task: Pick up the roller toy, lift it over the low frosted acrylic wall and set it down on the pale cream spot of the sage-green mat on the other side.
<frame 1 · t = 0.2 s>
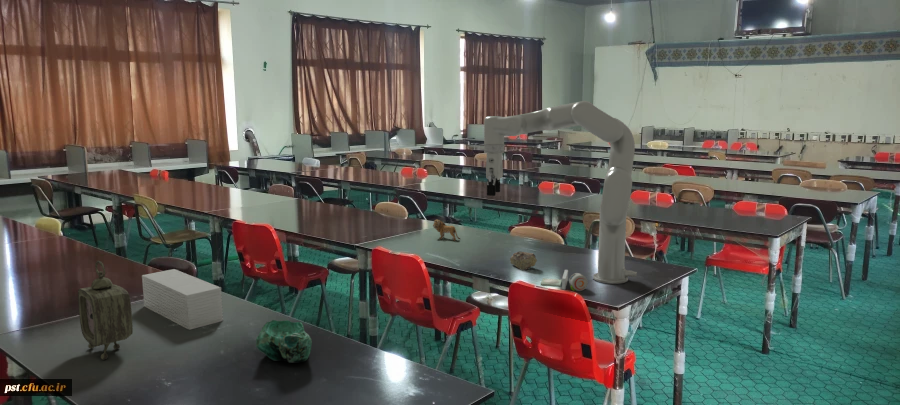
hand: (493, 193, 247), 31 cm above the table, tool pointing down, fingers open, 9 cm apart
stack of papers: (182, 314, 204), on the table
lion figurine: (445, 239, 312), on the table
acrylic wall: (564, 284, 234), on the table
rock: (523, 268, 258), on the table
roller toy: (578, 290, 228), on the table
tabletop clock: (109, 352, 173), on the table
mineral: (287, 359, 168), on the table
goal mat: (551, 283, 237), on the table
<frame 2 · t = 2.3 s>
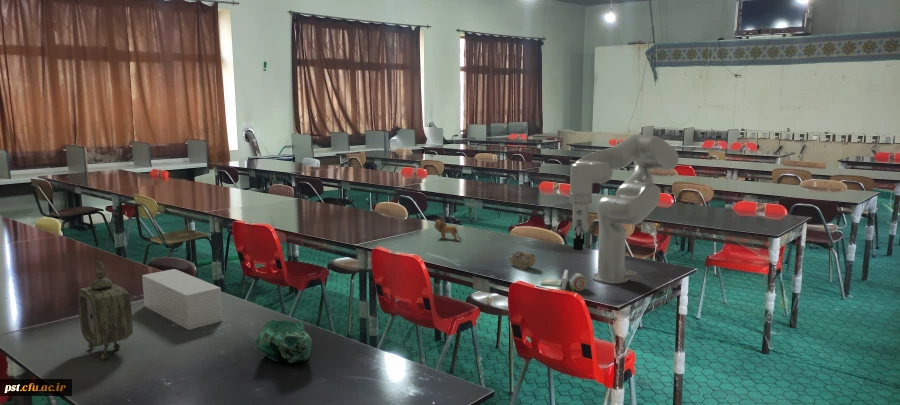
hand: (578, 247, 226), 16 cm above the table, tool pointing down, fingers open, 9 cm apart
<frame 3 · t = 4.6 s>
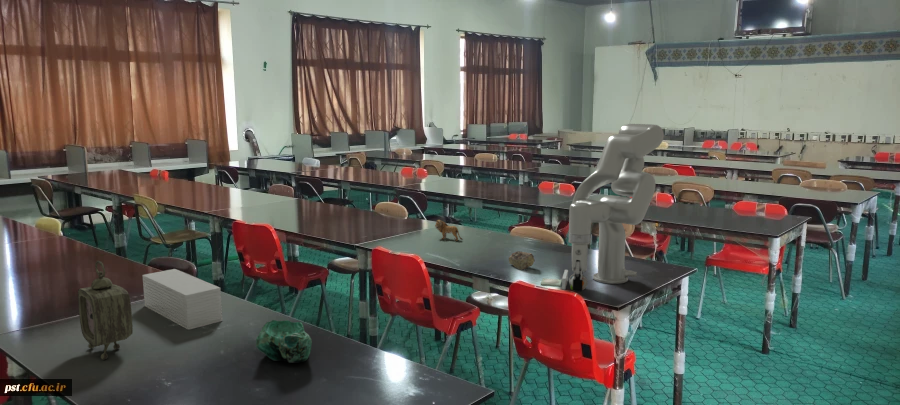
hand: (578, 287, 228), 1 cm above the table, tool pointing down, fingers closed on roller toy, 5 cm apart
roller toy: (577, 290, 228), on the table, touching gripper
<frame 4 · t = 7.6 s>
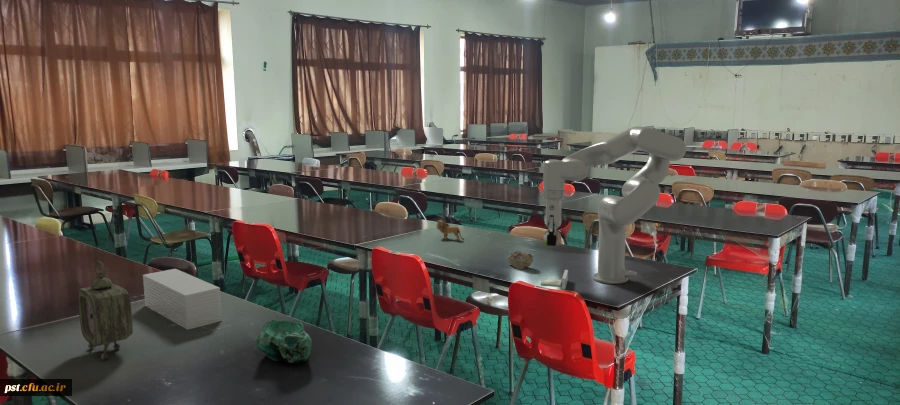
hand: (552, 243, 234), 15 cm above the table, tool pointing down, fingers closed on roller toy, 5 cm apart
roller toy: (552, 245, 234), point 14 cm above the table, touching gripper
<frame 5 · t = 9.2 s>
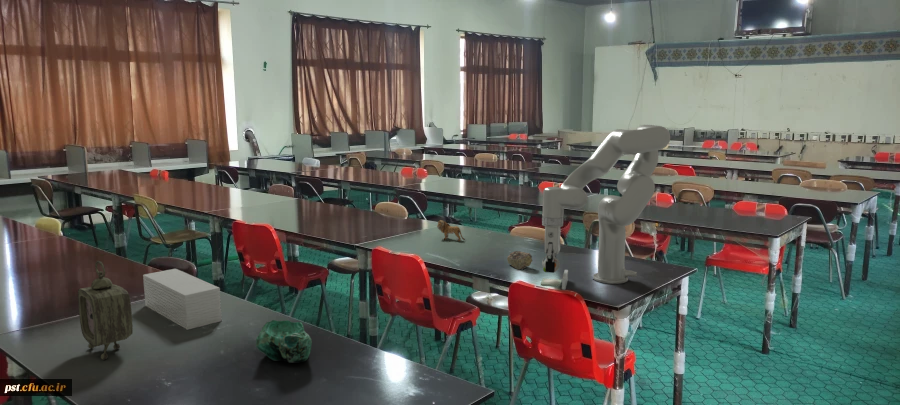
hand: (550, 269, 236), 5 cm above the table, tool pointing down, fingers closed on roller toy, 5 cm apart
roller toy: (550, 272, 236), point 4 cm above the table, touching gripper
when the fingers open (3 cm above the table, at t = 10.6 s): roller toy drops 1 cm, resting on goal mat.
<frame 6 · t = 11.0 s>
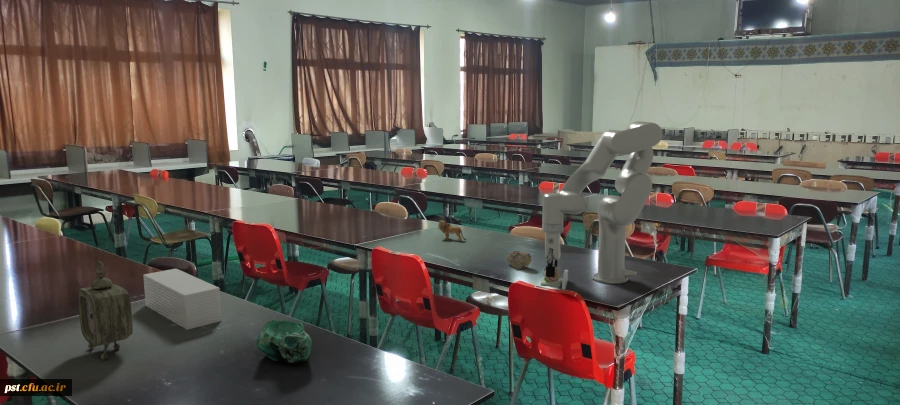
hand: (551, 273, 236), 4 cm above the table, tool pointing down, fingers open, 9 cm apart
roller toy: (551, 281, 237), resting on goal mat
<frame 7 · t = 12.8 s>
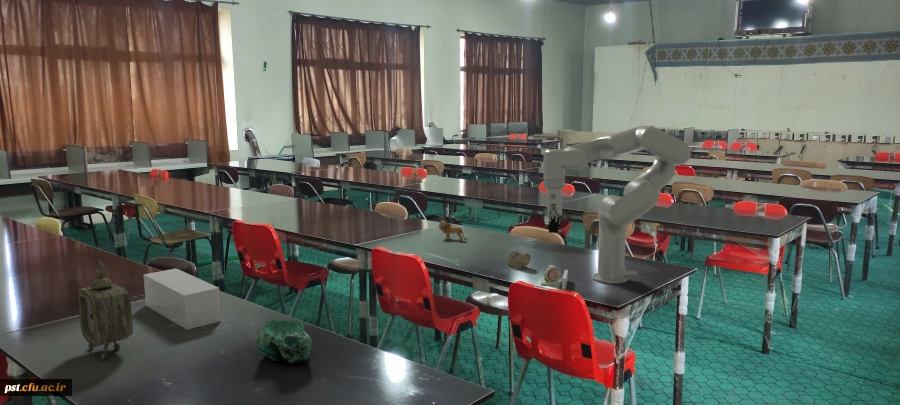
hand: (554, 229, 236), 19 cm above the table, tool pointing down, fingers open, 9 cm apart
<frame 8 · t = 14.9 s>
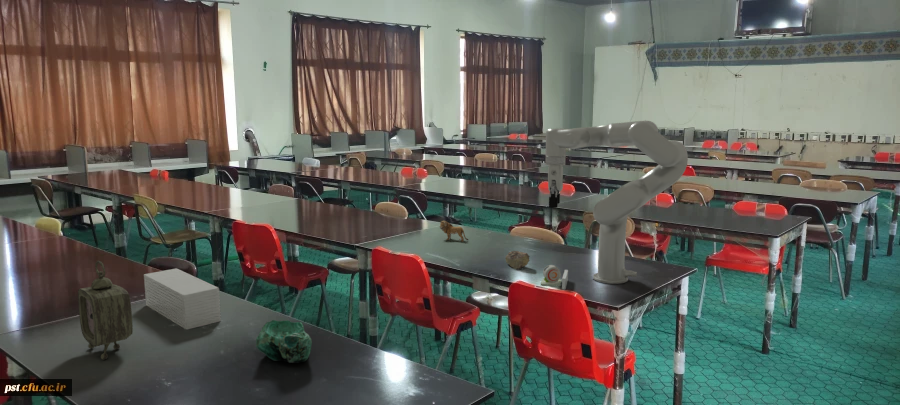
hand: (554, 205, 248), 26 cm above the table, tool pointing down, fingers open, 9 cm apart
at the end: roller toy 0.1 cm off-centre on the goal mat, point 0.5 cm above the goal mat's base; the gripper is holding nothing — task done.
